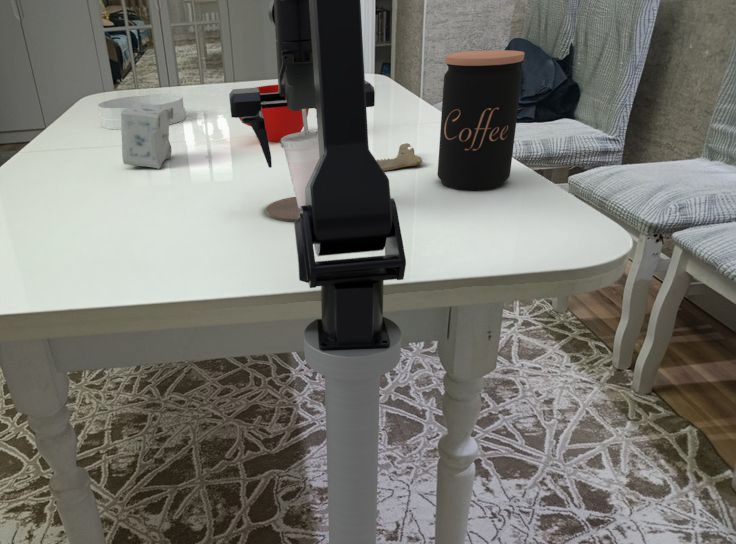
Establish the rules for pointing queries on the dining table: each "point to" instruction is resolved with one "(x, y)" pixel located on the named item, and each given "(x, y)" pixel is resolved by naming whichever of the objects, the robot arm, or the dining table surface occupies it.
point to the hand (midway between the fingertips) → (303, 164)
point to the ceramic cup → (280, 118)
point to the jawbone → (401, 159)
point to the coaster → (284, 210)
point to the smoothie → (301, 158)
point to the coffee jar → (479, 118)
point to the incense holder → (146, 135)
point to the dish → (113, 108)
